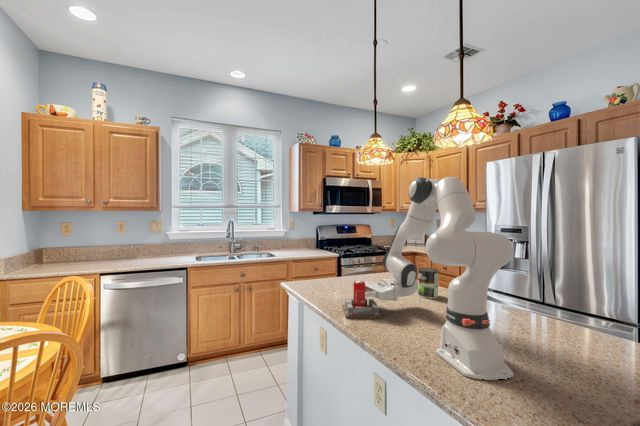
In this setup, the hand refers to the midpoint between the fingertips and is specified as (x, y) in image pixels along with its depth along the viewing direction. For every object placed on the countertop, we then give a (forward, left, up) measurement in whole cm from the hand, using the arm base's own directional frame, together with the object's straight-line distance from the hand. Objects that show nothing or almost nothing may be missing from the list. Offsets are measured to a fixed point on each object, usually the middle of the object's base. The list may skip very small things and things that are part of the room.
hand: (359, 291), depth 137 cm
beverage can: (+2, 0, -8) cm, 9 cm away
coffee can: (+27, -41, -9) cm, 50 cm away
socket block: (0, -1, -9) cm, 9 cm away
